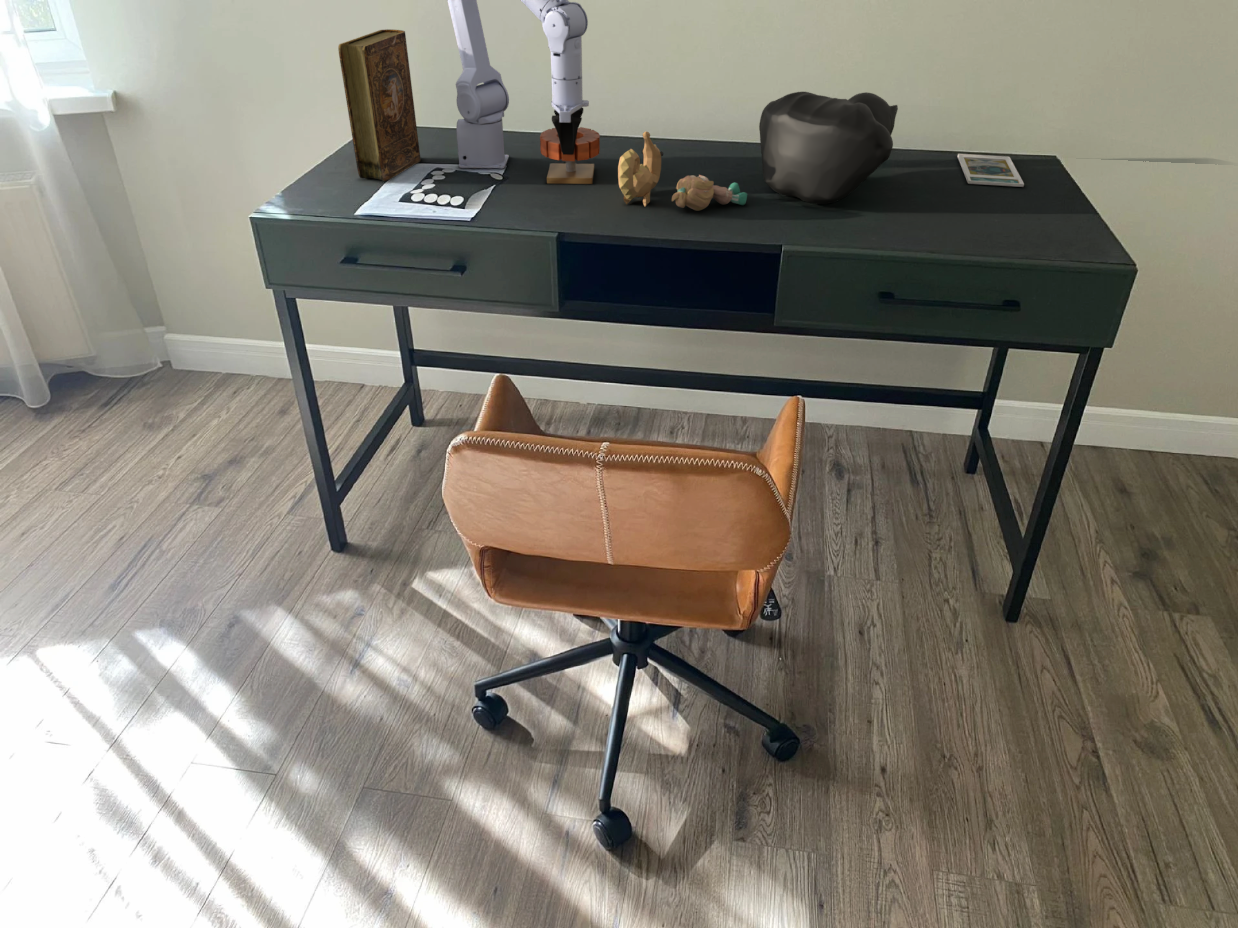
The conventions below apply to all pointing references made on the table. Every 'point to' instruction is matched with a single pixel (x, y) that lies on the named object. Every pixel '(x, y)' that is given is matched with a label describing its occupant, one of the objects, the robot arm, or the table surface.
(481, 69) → the robot arm
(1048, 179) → the table surface
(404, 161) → the book
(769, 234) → the table surface
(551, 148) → the ring
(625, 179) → the toy
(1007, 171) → the trading card
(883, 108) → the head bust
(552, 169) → the rack
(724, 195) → the toy
